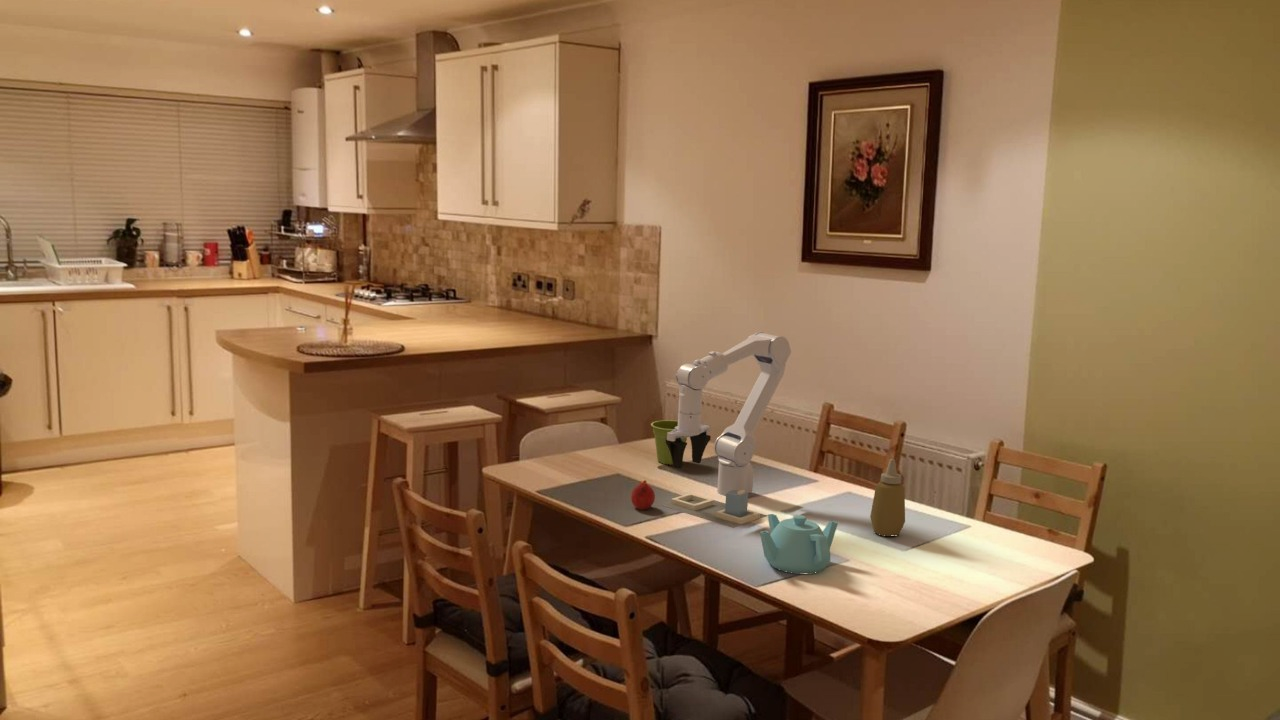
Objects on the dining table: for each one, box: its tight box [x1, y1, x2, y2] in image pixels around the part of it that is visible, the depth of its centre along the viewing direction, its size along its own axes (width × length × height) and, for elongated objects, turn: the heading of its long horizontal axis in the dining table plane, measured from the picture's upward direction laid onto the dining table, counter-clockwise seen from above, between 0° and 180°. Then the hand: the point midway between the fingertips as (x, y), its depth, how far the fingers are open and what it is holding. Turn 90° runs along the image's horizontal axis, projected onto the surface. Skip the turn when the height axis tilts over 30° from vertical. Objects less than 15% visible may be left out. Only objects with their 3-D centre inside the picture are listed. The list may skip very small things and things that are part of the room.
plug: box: [724, 490, 749, 518], centre depth 243 cm, size 4×4×7 cm
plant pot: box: [650, 419, 688, 466], centre depth 296 cm, size 12×12×11 cm
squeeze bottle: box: [869, 458, 906, 537], centre depth 238 cm, size 8×8×18 cm
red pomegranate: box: [630, 479, 656, 511], centre depth 248 cm, size 6×6×8 cm
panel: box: [662, 492, 768, 529], centre depth 248 cm, size 14×22×2 cm, turn 48°
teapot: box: [759, 513, 839, 574], centre depth 215 cm, size 15×15×11 cm
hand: (686, 464), depth 256 cm, fingers open, 7 cm apart
